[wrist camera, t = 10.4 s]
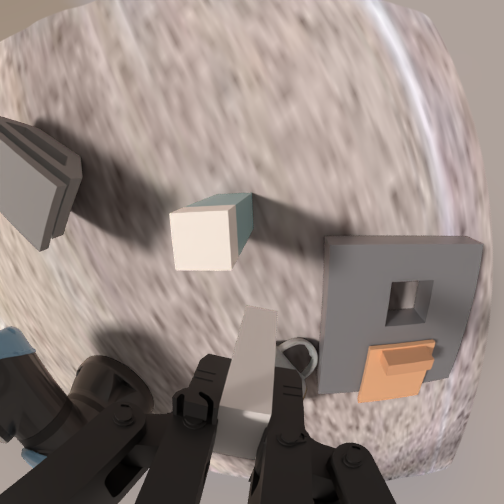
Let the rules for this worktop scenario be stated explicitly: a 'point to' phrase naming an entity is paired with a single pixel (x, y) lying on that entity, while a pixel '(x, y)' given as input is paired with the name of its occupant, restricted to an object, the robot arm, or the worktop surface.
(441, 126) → the worktop surface
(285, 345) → the ceramic mug
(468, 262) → the socket block
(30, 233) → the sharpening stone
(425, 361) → the terracotta shutter
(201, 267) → the teal plug
